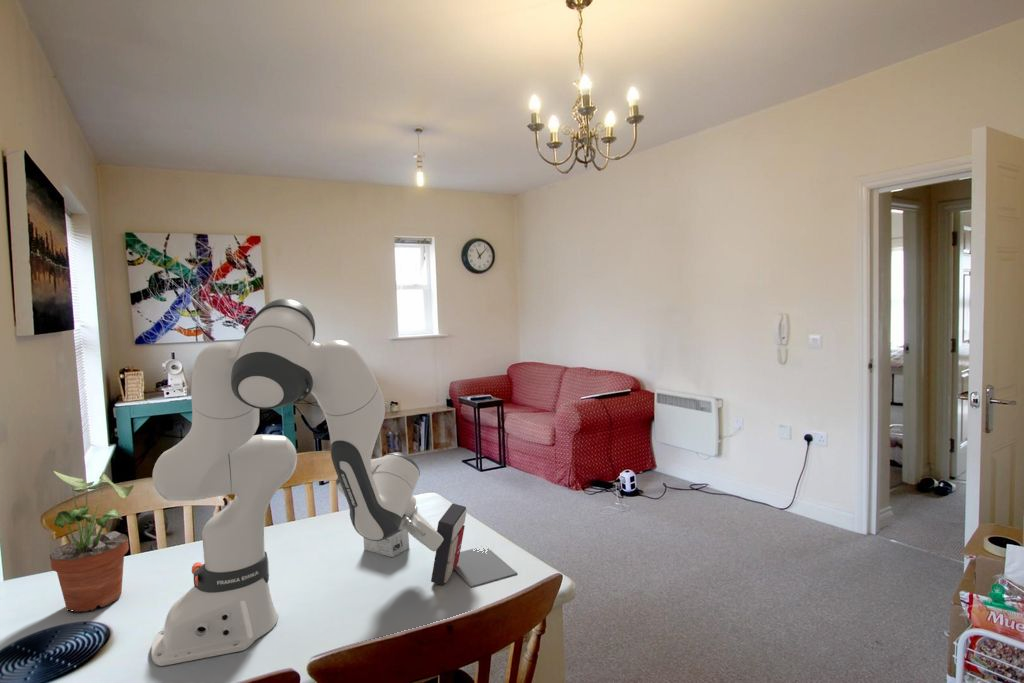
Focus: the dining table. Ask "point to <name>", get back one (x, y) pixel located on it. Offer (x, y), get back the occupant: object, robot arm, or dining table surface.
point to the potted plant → (90, 554)
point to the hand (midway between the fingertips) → (440, 542)
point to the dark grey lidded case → (449, 543)
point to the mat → (481, 567)
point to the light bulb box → (389, 544)
